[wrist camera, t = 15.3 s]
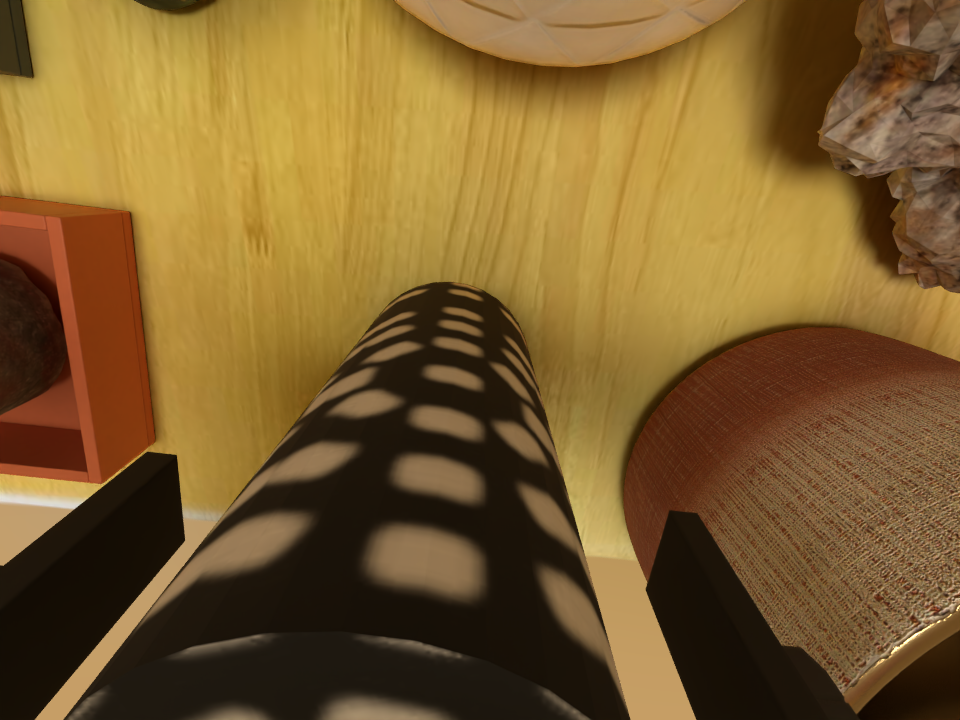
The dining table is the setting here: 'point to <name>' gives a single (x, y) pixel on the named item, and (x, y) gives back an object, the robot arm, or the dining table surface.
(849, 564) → the planter
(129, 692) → the white-spotted black cylinder
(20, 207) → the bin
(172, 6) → the coffee jar
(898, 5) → the rock
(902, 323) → the dining table surface
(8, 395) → the candle
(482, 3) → the vase
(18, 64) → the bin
